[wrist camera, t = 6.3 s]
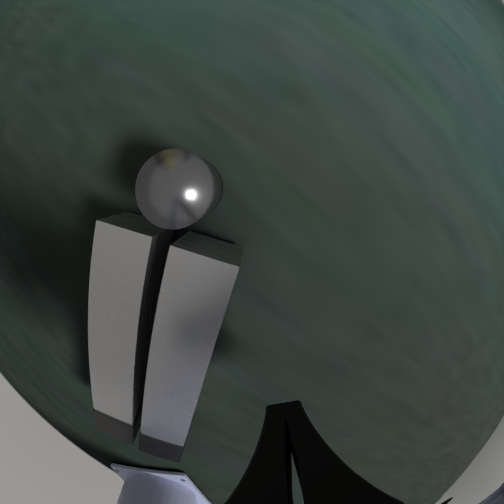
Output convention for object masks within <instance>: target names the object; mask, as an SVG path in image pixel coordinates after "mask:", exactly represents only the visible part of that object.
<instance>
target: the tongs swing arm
mask: <svg viewBox="0 0 504 504" xmlns="http://www.w3.org/2000/svg"><path fill="white" fill-rule="evenodd" d="M241 253H242V247H240V246H237V245H234V244H231V243H228V242H224V241H221V240H218V239H215V238H211V237H208V236H205V235H202V234H199V233H195V232H192V231H189V232H187V233H186V234H184V235H183V236H182V237H180V238H179V239H178V240H176V241H175V242H174V243H172V244H171V245H170V248H169V252H168V256H167V261H166V265H165V269H164V274H163V279H162V283H161V288H160V293H159V298H158V303H157V309H156V314H155V320H154V325H153V331H152V338H151V344H150V350H149V357H148V365H147V372H146V380H145V389H144V398H143V409H142V420H141V431H140V434H139V450H140V451H143V452H146V453H149V454H152V455H155V456H158V457H161V458H164V459H167V460H171V461H174V462H178V463H180V459H181V456H182V453H183V450H184V446H185V441H186V437H187V433H188V430H189V427H190V423H191V420H192V417H193V414H194V410H195V407H196V404H197V401H198V397H199V394H200V391H201V388H202V384H203V381H204V378H205V375H206V372H207V368H208V365H209V362H210V359H211V356H212V352H213V349H214V346H215V343H216V340H217V337H218V333H219V330H220V327H221V324H222V321H223V318H224V314H225V311H226V308H227V305H228V302H229V299H230V296H231V292H232V289H233V286H234V283H235V280H236V277H237V274H238V271H239V267H240V260H241Z"/></svg>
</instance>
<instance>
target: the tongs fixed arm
mask: <svg viewBox="0 0 504 504" xmlns="http://www.w3.org/2000/svg"><path fill="white" fill-rule="evenodd" d="M222 194H223V181H222V178H221V175H220V173H219V172H218V170H217V169H216V168H215V167H214V166H213V165H212V164H210V163H209V162H207V161H205V160H204V159H202V158H200V157H199V156H197V155H195V154H193V153H191V152H189V151H187V150H183V149H167V150H163V151H160V152H158V153H156V154H155V155H153V156H152V157H150V158H149V159H148V160H147V161H146V162H145V164H144V165H143V166H142V168H141V169H140V171H139V174H138V176H137V179H136V184H135V196H136V201H137V204H138V207H139V209H140V211H141V212H142V214H143V215H144V216H142V215H139V214H135V213H132V212H126V213H122V214H117V215H114V216H110V217H106V218H102V219H98V220H96V225H95V232H94V239H93V248H92V257H91V267H90V280H89V298H88V349H89V367H90V379H91V389H92V398H93V405H94V409H93V416H94V422H95V427H96V429H97V430H99V431H102V432H104V433H106V434H108V435H111V436H113V437H115V438H118V439H120V440H123V441H125V442H128V443H130V444H133V443H134V441H135V438H136V436H137V433H138V431H139V428H140V426H141V420H142V409H143V398H144V389H145V380H146V372H147V365H148V357H149V350H150V344H151V338H152V331H153V325H154V320H155V314H156V309H157V303H158V298H159V293H160V288H161V283H162V279H163V274H164V269H165V265H166V261H167V256H168V252H169V248H170V245H171V240H172V236H173V232H174V229H181V228H184V227H187V226H189V225H191V224H193V223H194V222H196V221H197V220H199V219H201V218H202V217H204V216H205V215H207V214H208V213H210V212H211V211H213V210H214V209H215V208H216V206H217V205H218V204H219V202H220V200H221V197H222Z"/></svg>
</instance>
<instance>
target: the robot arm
mask: <svg viewBox="0 0 504 504" xmlns="http://www.w3.org/2000/svg"><path fill="white" fill-rule="evenodd" d="M291 452H292V456H293V460H294V463H295V467H296V471H297V474H298V478H299V482H300V485H301V489H302V494H303V498H304V504H404V503H403V502H401V501H399V500H397V499H395V498H393V497H391V496H389V495H388V494H386V493H384V492H382V491H381V490H379V489H377V488H376V487H374V486H373V485H371V484H370V483H368V482H367V481H366V480H364V479H363V478H362V477H360V476H359V475H358V474H356V473H355V472H354V471H353V470H352V469H350V468H349V467H348V466H347V465H346V464H345V463H344V462H343V461H342V460H341V459H340V458H339V457H338V456H337V455H336V454H335V453H334V452H333V451H332V450H331V449H330V447H329V446H328V445H327V444H326V443H325V441H324V440H323V439H322V438H321V436H320V435H319V433H318V432H317V431H316V429H315V428H314V426H313V425H312V423H311V422H310V420H309V418H308V417H307V415H306V413H305V411H304V409H303V407H302V404H301V402H300V401H298V400H297V401H291V402H286V403H280V404H274V405H268V406H267V407H266V414H265V420H264V424H263V428H262V432H261V435H260V438H259V441H258V444H257V447H256V450H255V452H254V454H253V457H252V459H251V461H250V464H249V466H248V468H247V470H246V472H245V473H244V475H243V477H242V479H241V481H240V482H239V484H238V485H237V487H236V488H235V490H234V491H233V493H232V494H231V496H230V497H229V499H228V500H227V501H226V503H225V504H293V494H292V463H291ZM111 468H112V469H113V470H114V471H115V472H116V473H117V474H118V475H119V476H120V477H121V478H122V479H123V480H124V481H125V482H124V485H123V488H122V491H121V494H120V496H119V499H118V502H117V504H211V503H210V502H209V501H208V500H207V498H206V497H205V496H204V495H203V494H202V493H201V492H200V491H199V489H198V488H197V487H196V486H195V485H194V484H193V482H192V481H191V480H190V479H189V478H188V476H187V475H186V474H184V473H181V472H169V471H159V470H151V469H143V468H137V467H131V466H125V465H120V464H115V463H112V464H111ZM479 504H504V483H503V484H502V486H501V487H500V488H499V489H497V490H496V491H495V492H494V493H493V494H491V495H490V496H489V497H487V498H486V499H485V500H483V501H482V502H481V503H479Z"/></svg>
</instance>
